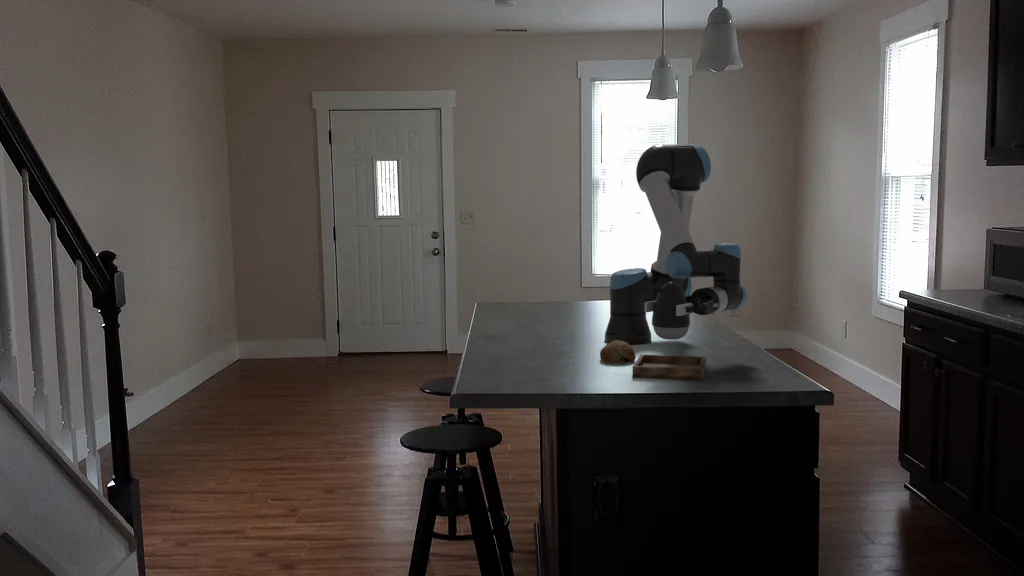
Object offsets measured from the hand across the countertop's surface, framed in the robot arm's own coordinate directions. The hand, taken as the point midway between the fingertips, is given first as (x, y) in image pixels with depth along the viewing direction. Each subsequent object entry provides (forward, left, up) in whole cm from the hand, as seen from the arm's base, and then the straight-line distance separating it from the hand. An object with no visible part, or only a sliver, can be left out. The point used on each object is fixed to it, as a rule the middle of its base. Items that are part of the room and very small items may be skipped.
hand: (661, 309), depth 234 cm
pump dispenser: (+2, +4, -8) cm, 10 cm away
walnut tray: (+2, +4, -18) cm, 18 cm away
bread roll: (-14, +17, -18) cm, 29 cm away
